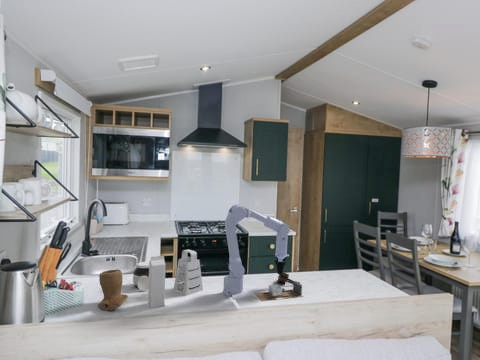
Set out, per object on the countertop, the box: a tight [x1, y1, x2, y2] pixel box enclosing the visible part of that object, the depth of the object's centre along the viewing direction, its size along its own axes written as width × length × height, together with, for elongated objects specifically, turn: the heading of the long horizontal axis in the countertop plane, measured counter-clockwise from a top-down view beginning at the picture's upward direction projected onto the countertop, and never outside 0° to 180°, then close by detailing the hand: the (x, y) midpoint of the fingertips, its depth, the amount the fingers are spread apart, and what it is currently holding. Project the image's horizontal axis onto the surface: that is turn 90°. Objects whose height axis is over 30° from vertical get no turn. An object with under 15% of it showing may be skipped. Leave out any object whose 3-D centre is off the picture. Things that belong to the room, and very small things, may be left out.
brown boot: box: [97, 268, 129, 312], centre depth 145 cm, size 15×12×15 cm
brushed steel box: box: [267, 284, 286, 297], centre depth 159 cm, size 7×7×4 cm
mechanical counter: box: [276, 271, 300, 285], centre depth 178 cm, size 7×13×10 cm
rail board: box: [254, 280, 304, 302], centre depth 161 cm, size 22×10×6 cm, turn 109°
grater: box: [173, 248, 204, 296], centre depth 166 cm, size 10×10×20 cm
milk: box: [147, 255, 167, 309], centre depth 147 cm, size 6×6×22 cm
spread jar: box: [132, 261, 150, 292], centre depth 167 cm, size 12×11×12 cm
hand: (280, 271), depth 169 cm, fingers open, 7 cm apart
